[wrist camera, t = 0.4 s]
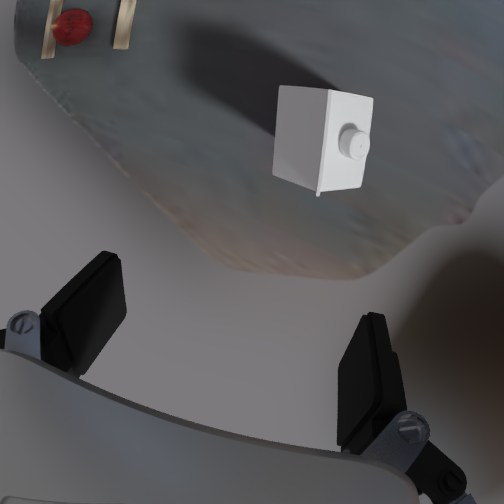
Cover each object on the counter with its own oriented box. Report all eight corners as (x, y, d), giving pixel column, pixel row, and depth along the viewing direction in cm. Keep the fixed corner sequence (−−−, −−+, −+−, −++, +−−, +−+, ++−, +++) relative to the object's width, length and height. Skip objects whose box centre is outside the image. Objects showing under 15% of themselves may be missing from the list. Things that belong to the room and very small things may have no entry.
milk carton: (287, 145, 37) (264, 189, 21) (291, 89, 34) (272, 82, 17) (344, 153, 36) (369, 204, 20) (350, 97, 33) (386, 99, 16)
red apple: (99, 5, 30) (65, -2, 23) (105, 35, 33) (69, 31, 26) (72, 23, 32) (36, 20, 25) (77, 52, 34) (41, 52, 27)
